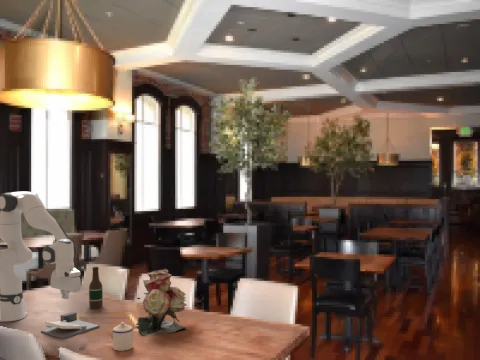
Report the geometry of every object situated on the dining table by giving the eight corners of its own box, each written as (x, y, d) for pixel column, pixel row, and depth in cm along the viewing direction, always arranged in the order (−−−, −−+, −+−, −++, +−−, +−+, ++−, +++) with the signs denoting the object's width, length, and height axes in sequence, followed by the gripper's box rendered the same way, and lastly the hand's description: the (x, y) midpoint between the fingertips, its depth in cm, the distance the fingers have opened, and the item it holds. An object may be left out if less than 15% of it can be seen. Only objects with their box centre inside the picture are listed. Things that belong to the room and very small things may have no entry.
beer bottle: (89, 308, 295) (88, 268, 295) (89, 305, 302) (88, 266, 302) (102, 307, 297) (102, 267, 297) (102, 304, 305) (102, 265, 304)
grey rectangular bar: (72, 318, 275) (72, 311, 275) (77, 320, 272) (77, 313, 272) (46, 326, 262) (46, 318, 262) (52, 327, 259) (51, 320, 259)
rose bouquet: (143, 339, 239) (142, 276, 239) (132, 323, 266) (131, 267, 266) (194, 332, 249) (193, 272, 249) (178, 317, 276) (178, 263, 275)
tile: (45, 321, 251) (45, 324, 250) (62, 326, 243) (62, 329, 242) (65, 321, 260) (64, 324, 260) (82, 326, 252) (82, 328, 252)
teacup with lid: (137, 346, 228) (137, 321, 228) (123, 352, 220) (123, 326, 220) (118, 342, 234) (117, 317, 234) (103, 348, 226) (103, 322, 226)
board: (41, 332, 251) (40, 326, 251) (77, 321, 269) (77, 316, 269) (63, 338, 240) (62, 333, 240) (99, 327, 258) (99, 321, 258)
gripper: (47, 270, 255) (47, 297, 255) (72, 274, 244) (72, 302, 244) (57, 268, 260) (58, 294, 261) (82, 272, 249) (83, 300, 249)
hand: (65, 298), depth 252 cm, fingers closed
